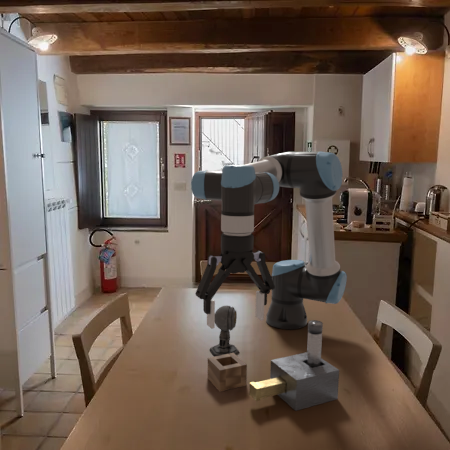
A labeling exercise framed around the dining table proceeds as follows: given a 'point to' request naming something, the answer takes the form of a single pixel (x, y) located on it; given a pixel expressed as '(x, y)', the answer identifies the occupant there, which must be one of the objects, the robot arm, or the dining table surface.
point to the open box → (227, 371)
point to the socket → (305, 381)
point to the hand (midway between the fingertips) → (235, 322)
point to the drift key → (267, 388)
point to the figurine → (225, 331)
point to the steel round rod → (314, 343)
